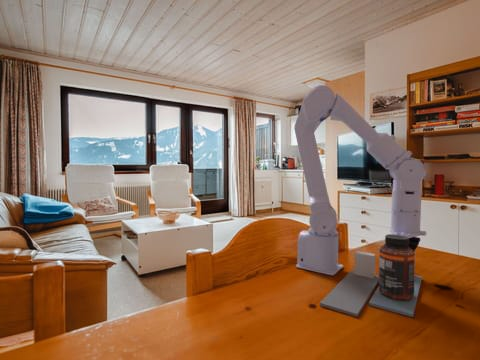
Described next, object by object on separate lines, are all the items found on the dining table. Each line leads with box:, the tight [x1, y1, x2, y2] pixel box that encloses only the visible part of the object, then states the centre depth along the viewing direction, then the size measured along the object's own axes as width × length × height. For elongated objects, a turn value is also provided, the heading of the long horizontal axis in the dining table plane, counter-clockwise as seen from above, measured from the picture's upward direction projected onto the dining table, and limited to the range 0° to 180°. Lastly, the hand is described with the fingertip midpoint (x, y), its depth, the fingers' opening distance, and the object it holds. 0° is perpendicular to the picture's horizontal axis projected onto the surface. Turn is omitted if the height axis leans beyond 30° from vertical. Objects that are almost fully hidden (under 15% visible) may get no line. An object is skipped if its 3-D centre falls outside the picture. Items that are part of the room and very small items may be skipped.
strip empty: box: [319, 250, 379, 318], centre depth 56 cm, size 6×21×6 cm, turn 143°
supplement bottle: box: [378, 233, 416, 300], centre depth 53 cm, size 6×6×11 cm
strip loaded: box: [368, 270, 423, 318], centre depth 56 cm, size 7×21×6 cm, turn 143°
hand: (404, 269), depth 64 cm, fingers closed on strip loaded, 2 cm apart
